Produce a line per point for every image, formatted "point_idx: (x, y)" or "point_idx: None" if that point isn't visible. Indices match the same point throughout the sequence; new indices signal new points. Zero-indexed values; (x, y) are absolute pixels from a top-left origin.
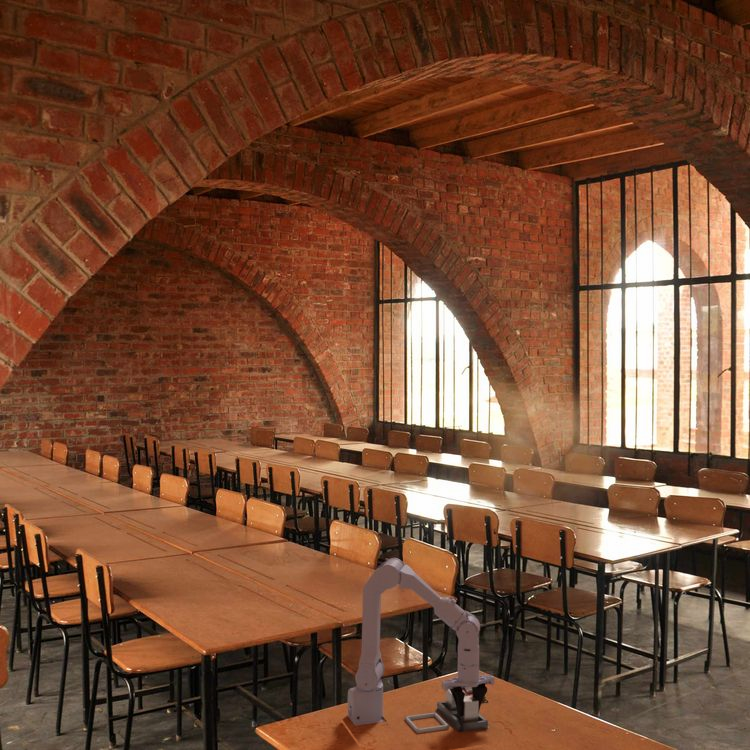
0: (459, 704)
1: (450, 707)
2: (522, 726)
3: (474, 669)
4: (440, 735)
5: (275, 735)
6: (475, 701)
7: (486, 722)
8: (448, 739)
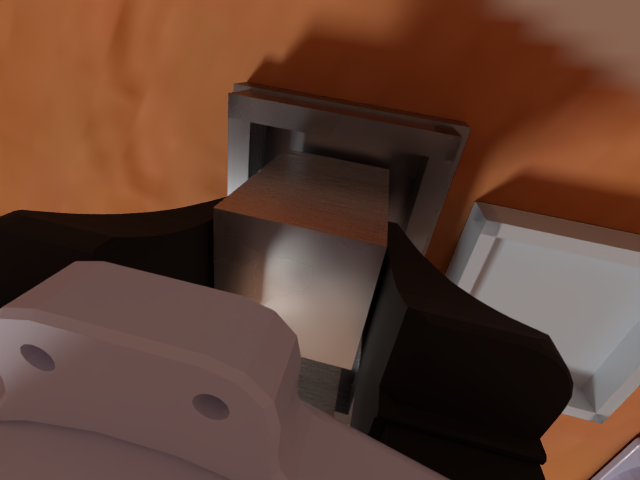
0: (435, 268)
1: None
2: (36, 62)
3: None
4: (543, 202)
5: None
6: (251, 215)
7: (243, 94)
8: (551, 127)
